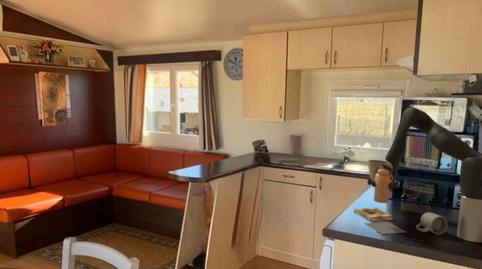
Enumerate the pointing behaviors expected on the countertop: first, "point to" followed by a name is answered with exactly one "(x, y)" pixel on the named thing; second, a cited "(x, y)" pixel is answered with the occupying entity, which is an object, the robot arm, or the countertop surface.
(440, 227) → the ceramic mug
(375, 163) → the plant pot
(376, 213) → the holder
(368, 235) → the countertop surface
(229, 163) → the countertop surface
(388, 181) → the peach capped cylinder
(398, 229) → the mat
